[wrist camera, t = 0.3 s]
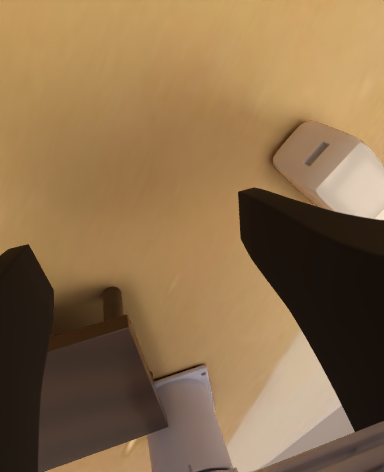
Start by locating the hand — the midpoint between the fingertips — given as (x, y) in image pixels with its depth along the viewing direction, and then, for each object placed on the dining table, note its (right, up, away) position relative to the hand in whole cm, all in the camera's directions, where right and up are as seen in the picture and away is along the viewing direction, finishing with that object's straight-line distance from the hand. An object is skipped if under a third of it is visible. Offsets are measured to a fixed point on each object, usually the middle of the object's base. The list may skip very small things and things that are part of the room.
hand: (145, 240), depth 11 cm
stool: (-9, -11, +16) cm, 21 cm away
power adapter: (+12, +5, +13) cm, 18 cm away
